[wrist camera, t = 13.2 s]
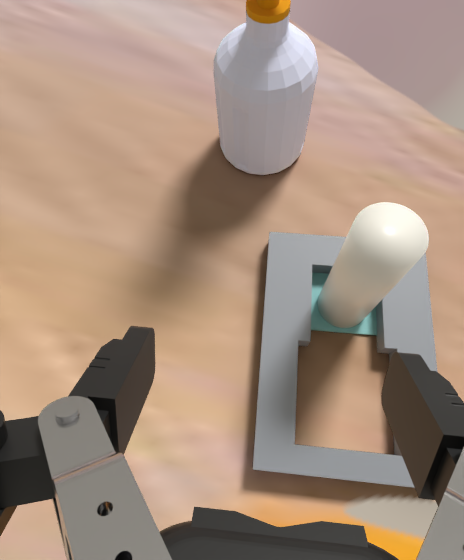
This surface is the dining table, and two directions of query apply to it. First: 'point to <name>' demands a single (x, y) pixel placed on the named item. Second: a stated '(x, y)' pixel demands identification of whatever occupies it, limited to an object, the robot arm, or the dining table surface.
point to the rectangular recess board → (297, 332)
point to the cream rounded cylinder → (371, 262)
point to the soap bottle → (264, 89)
